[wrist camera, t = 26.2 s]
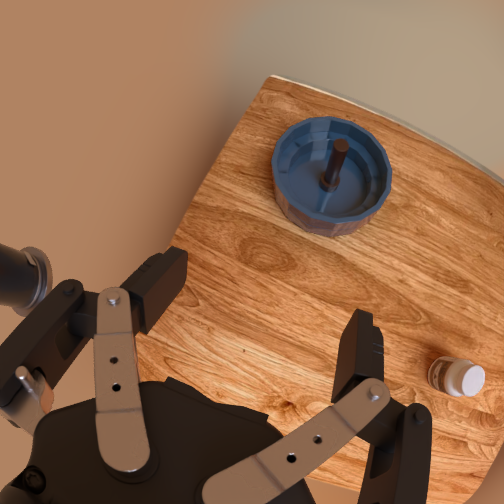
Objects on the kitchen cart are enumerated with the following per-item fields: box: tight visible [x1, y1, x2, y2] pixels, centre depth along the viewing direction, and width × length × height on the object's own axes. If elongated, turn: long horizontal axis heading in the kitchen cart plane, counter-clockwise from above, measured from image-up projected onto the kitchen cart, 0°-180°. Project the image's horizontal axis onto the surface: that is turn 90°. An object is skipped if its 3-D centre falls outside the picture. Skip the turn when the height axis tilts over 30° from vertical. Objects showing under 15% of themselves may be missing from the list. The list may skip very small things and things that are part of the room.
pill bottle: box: [428, 356, 485, 397], centre depth 26 cm, size 4×4×8 cm
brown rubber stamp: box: [319, 138, 349, 193], centre depth 32 cm, size 2×2×9 cm
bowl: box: [271, 116, 392, 237], centre depth 34 cm, size 14×14×6 cm
